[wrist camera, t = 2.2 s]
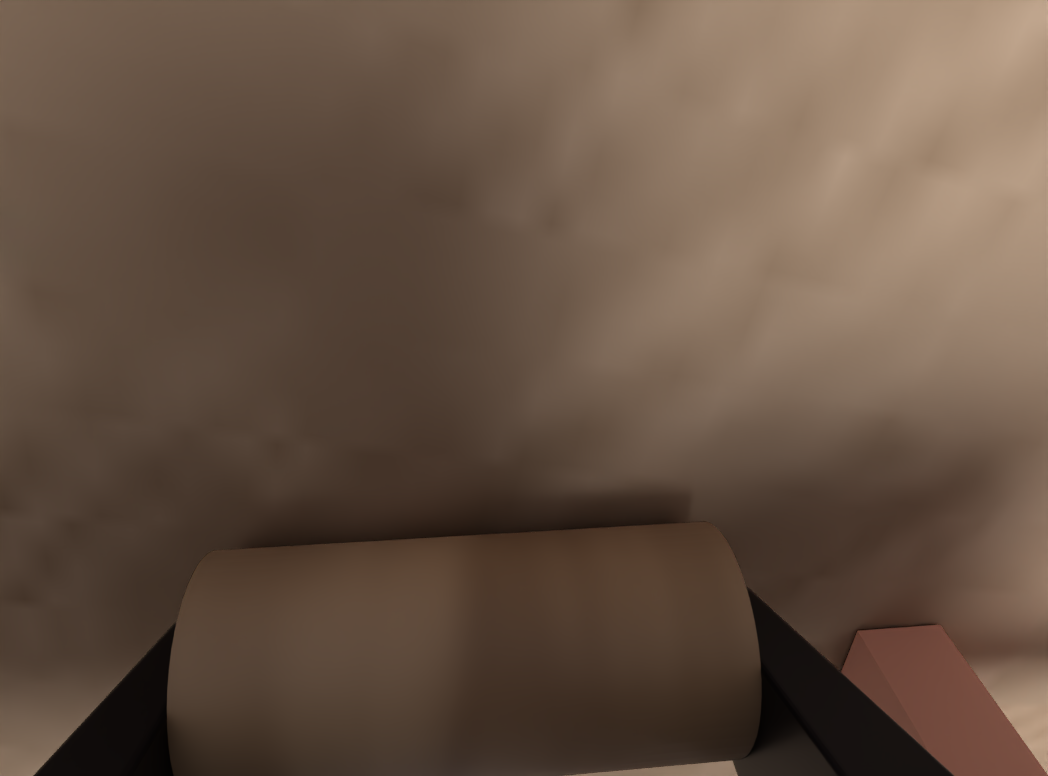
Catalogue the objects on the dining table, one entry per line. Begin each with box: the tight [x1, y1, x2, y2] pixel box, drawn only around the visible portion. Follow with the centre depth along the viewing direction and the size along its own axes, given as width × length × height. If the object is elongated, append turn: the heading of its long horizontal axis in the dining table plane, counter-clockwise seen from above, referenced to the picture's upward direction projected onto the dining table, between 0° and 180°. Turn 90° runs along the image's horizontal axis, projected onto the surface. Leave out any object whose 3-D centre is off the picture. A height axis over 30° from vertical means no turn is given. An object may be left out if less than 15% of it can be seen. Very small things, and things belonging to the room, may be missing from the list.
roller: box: [167, 522, 762, 776], centre depth 10 cm, size 3×6×3 cm, turn 89°
